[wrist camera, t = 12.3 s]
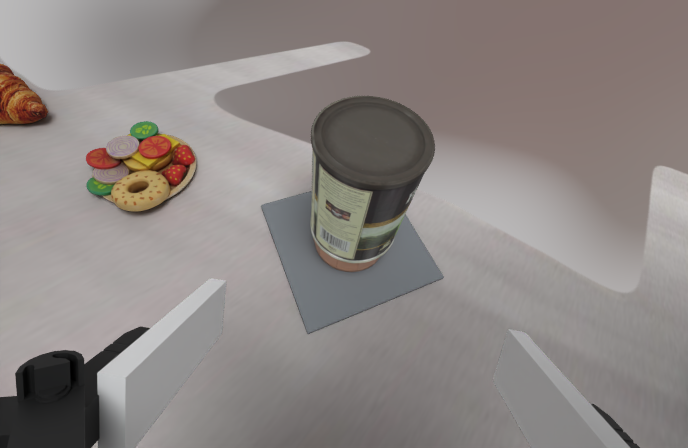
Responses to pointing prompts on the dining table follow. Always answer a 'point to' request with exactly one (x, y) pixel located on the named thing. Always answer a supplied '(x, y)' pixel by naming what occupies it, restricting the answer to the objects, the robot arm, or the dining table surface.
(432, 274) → the mat
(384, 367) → the dining table surface
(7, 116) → the croissant
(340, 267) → the bowl
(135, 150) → the toy food set
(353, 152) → the coffee can
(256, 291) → the dining table surface
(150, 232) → the dining table surface
